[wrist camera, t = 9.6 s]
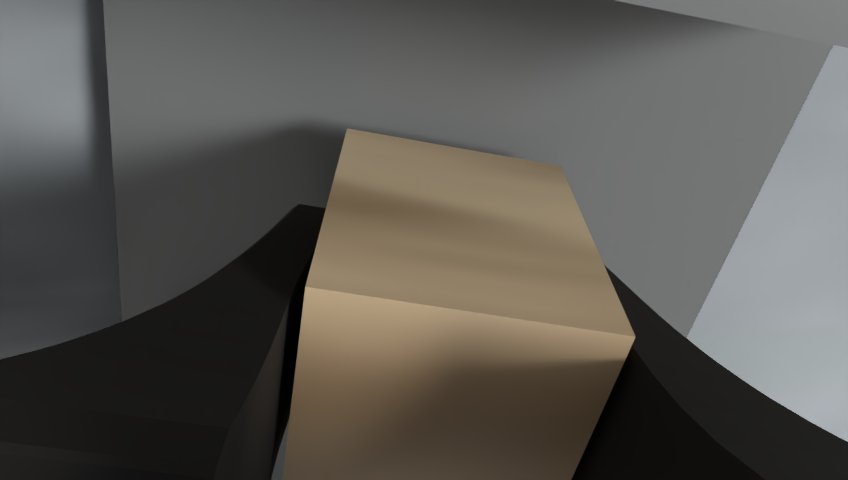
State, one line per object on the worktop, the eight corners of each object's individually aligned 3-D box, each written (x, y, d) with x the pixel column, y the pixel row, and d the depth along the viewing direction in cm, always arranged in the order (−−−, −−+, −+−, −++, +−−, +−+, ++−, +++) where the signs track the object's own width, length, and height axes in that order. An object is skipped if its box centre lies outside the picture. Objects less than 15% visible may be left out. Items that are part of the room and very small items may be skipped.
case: (616, 448, 18) (693, 684, 13) (135, 386, 17) (11, 621, 12) (864, -63, 12) (1215, 11, 7) (105, -230, 10) (-205, -304, 5)
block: (506, 332, 14) (543, 541, 10) (322, 304, 14) (278, 509, 10) (560, 165, 12) (635, 336, 8) (347, 128, 12) (305, 286, 8)
